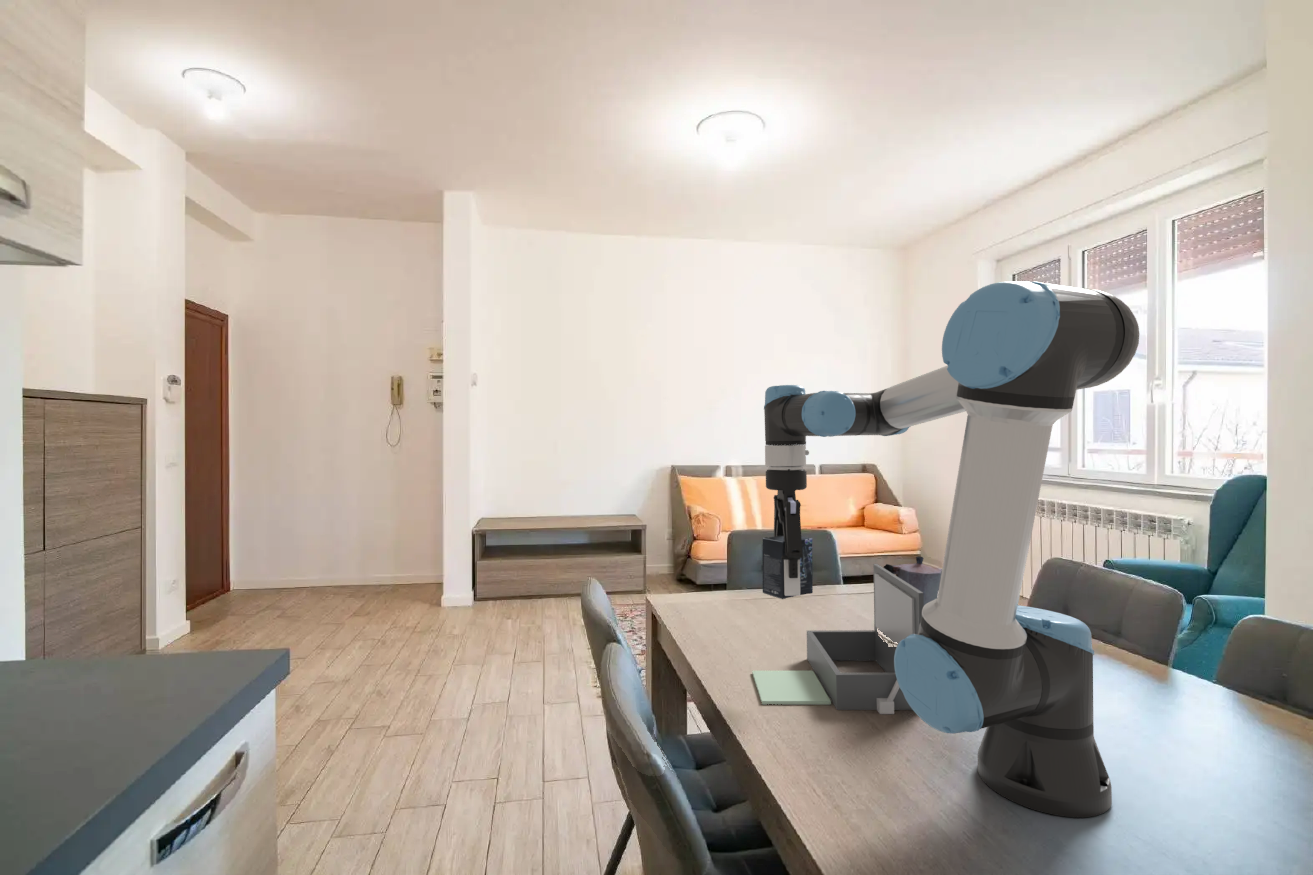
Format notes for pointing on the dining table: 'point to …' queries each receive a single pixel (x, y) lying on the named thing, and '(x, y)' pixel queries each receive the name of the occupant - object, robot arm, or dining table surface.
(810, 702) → the pad
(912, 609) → the case
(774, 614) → the dining table surface
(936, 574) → the moka pot
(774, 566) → the box
